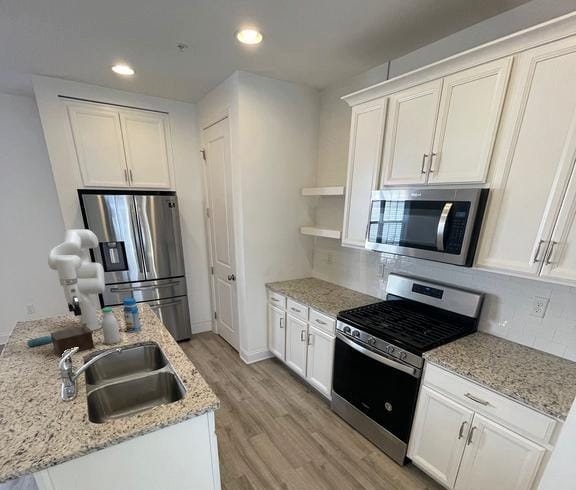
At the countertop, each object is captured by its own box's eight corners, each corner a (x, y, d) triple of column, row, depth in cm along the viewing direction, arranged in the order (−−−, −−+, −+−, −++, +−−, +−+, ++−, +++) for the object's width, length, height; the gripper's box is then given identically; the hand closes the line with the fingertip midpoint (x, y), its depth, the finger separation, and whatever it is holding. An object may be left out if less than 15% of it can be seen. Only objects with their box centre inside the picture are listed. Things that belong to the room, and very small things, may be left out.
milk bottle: (122, 341, 178) (117, 308, 171) (107, 345, 172) (101, 311, 166) (117, 337, 183) (111, 305, 176) (103, 341, 177) (96, 308, 171)
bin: (86, 341, 177) (83, 327, 174) (94, 348, 169) (91, 333, 166) (54, 349, 166) (50, 334, 163) (60, 357, 158) (56, 341, 155)
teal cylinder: (51, 340, 177) (50, 334, 175) (53, 342, 174) (52, 336, 173) (27, 346, 169) (25, 339, 167) (29, 348, 166) (27, 341, 165)
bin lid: (85, 326, 174) (83, 318, 173) (93, 332, 167) (91, 323, 165) (50, 334, 163) (47, 325, 161) (56, 341, 155) (54, 331, 153)
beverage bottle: (142, 330, 194) (138, 300, 187) (127, 333, 190) (122, 302, 183) (139, 326, 201) (135, 296, 194) (125, 328, 196) (120, 298, 189)
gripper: (82, 283, 156) (88, 315, 162) (72, 278, 167) (78, 308, 173) (64, 285, 151) (71, 318, 157) (55, 280, 162) (63, 311, 168)
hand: (75, 313), depth 165 cm, fingers open, 9 cm apart
